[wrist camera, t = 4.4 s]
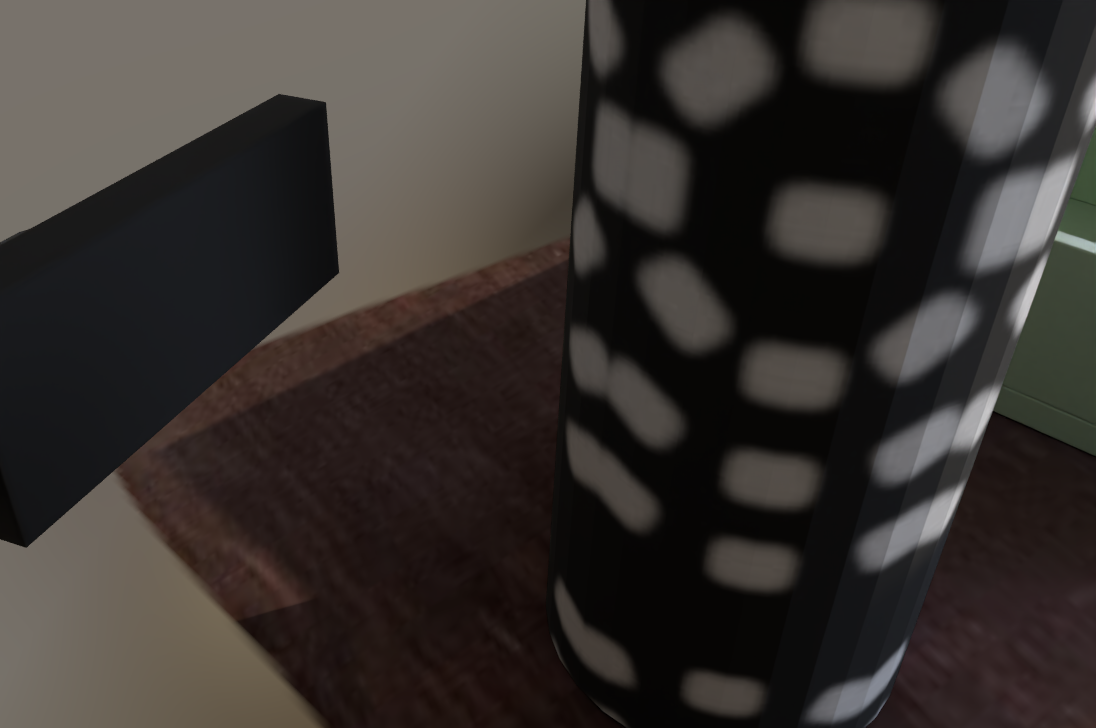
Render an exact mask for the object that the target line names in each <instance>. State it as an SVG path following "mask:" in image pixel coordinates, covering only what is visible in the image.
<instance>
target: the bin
mask: <svg viewBox="0 0 1096 728" xmlns="http://www.w3.org/2000/svg"><path fill="white" fill-rule="evenodd" d="M993 411H995V412H997V413H999V414H1001V415H1004V416H1006V417H1008V418H1010V419H1013V420H1015V421H1017V422H1019V423H1022V424H1024V425H1026V426H1028V427H1031V428H1033V429H1035V430H1037V431H1040V432H1042V433H1044V434H1046V435H1049V436H1051V437H1053V438H1055V439H1058V440H1060V441H1062V442H1064V443H1067V444H1069V445H1071V446H1074V447H1076V448H1078V449H1080V450H1083V451H1085V452H1087V453H1089V454H1092V455H1094V456H1096V127H1095V129H1094V132H1093V135H1092V138H1091V140H1090V143H1089V146H1088V149H1087V152H1086V154H1085V157H1084V160H1083V163H1082V165H1081V168H1080V171H1079V174H1078V176H1077V179H1076V182H1075V185H1074V187H1073V190H1072V193H1071V196H1070V199H1069V201H1068V204H1067V207H1066V210H1065V212H1064V215H1063V218H1062V221H1061V223H1060V226H1059V229H1058V232H1057V235H1056V237H1055V240H1054V243H1053V246H1052V248H1051V251H1050V254H1049V257H1048V259H1047V262H1046V265H1045V268H1044V270H1043V273H1042V276H1041V279H1040V282H1039V284H1038V287H1037V290H1036V293H1035V295H1034V298H1033V301H1032V304H1031V306H1030V309H1029V312H1028V315H1027V318H1026V320H1025V323H1024V326H1023V329H1022V331H1021V334H1020V337H1019V340H1018V342H1017V345H1016V348H1015V351H1014V353H1013V356H1012V359H1011V362H1010V365H1009V367H1008V370H1007V373H1006V376H1005V378H1004V381H1003V384H1002V387H1001V389H1000V392H999V395H998V398H997V401H996V403H995V406H994V409H993Z"/></svg>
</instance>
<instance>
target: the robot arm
mask: <svg viewBox="0 0 1096 728" xmlns="http://www.w3.org/2000/svg"><path fill="white" fill-rule="evenodd" d="M338 273H339V266H338V253H337V241H336V228H335V214H334V203H333V188H332V175H331V163H330V150H329V137H328V123H327V111H326V102H321V101H315V100H310V99H304V98H299V97H293V96H287V95H281V94H278V95H276V96H274V97H273V98H271V99H269V100H267V101H265V102H263V103H261V104H260V105H258V106H256V107H254V108H252V109H251V110H249V111H247V112H245V113H243V114H241V115H239V116H238V117H236V118H234V119H232V120H230V121H228V122H226V123H225V124H223V125H221V126H219V127H217V128H215V129H214V130H212V131H210V132H208V133H206V134H204V135H203V136H201V137H199V138H197V139H195V140H193V141H191V142H190V143H188V144H186V145H184V146H182V147H180V148H179V149H177V150H175V151H173V152H171V153H170V154H167V155H166V156H164V157H162V158H161V159H158V160H156V161H155V162H153V163H151V164H149V165H147V166H145V167H143V168H142V169H140V170H138V171H136V172H134V173H132V174H131V175H129V176H127V177H125V178H123V179H121V180H120V181H118V182H116V183H114V184H112V185H110V186H109V187H107V188H105V189H103V190H101V191H99V192H97V193H96V194H94V195H92V196H90V197H88V198H86V199H85V200H83V201H81V202H79V203H77V204H75V205H73V206H72V207H70V208H68V209H66V210H64V211H62V212H61V213H59V214H57V215H55V216H53V217H51V218H49V219H48V220H46V221H44V222H42V223H40V224H38V225H37V226H35V227H33V228H31V229H28V230H25V231H22V232H19V233H17V234H15V235H13V236H11V237H10V238H8V239H6V240H4V241H2V242H0V539H1V540H4V541H7V542H10V543H14V544H17V545H19V546H23V547H28V546H29V545H30V544H31V543H32V542H33V541H34V540H36V539H37V538H38V537H39V536H40V535H41V534H42V533H44V532H45V531H46V530H47V529H48V528H49V527H50V526H52V525H53V524H54V523H55V522H56V521H57V520H58V519H59V518H61V517H62V516H63V515H64V514H65V513H66V512H67V511H69V510H70V509H71V508H72V507H73V506H74V505H75V504H77V503H78V502H79V501H80V500H81V499H82V498H83V497H85V496H86V495H87V494H88V493H89V492H90V491H91V490H92V489H94V488H95V487H96V486H97V485H98V484H99V483H101V482H102V481H103V480H104V479H105V478H106V477H107V476H108V475H110V474H111V473H112V472H113V471H114V470H115V469H116V468H118V467H119V466H120V465H121V464H122V463H123V462H124V461H126V460H127V459H128V458H129V457H130V456H131V455H132V454H133V453H135V452H136V451H137V450H138V449H139V448H140V447H141V446H143V445H144V444H145V443H146V442H147V441H148V440H149V439H151V438H152V437H153V436H154V435H155V434H156V433H157V432H159V431H160V430H161V429H162V428H163V427H164V426H165V425H166V424H168V423H169V422H170V421H171V420H172V419H173V418H174V417H176V416H177V415H178V414H179V413H180V412H181V411H182V410H184V409H185V408H186V407H187V406H188V405H189V404H190V403H192V402H193V401H194V400H195V399H196V398H197V397H198V396H199V395H201V394H202V393H203V392H204V391H205V390H206V389H207V388H209V387H210V386H211V385H212V384H213V383H214V382H215V381H217V380H218V379H219V378H220V377H221V376H222V375H223V374H224V373H226V372H227V371H228V370H229V369H230V368H231V367H232V366H234V365H235V364H236V363H237V362H238V361H239V360H240V359H242V358H243V357H244V356H245V355H246V354H247V353H248V352H250V351H251V350H252V349H253V348H254V347H255V346H256V345H257V344H259V343H260V342H261V341H262V340H263V339H264V338H265V337H267V336H268V335H269V334H270V333H271V332H272V331H273V330H275V329H276V328H277V327H278V326H279V325H280V324H281V323H282V322H284V321H285V320H286V319H287V318H288V317H289V316H290V315H292V313H294V312H295V311H296V310H297V309H298V308H299V307H301V306H302V305H303V304H304V303H305V302H306V301H308V300H309V299H310V298H311V297H312V296H313V295H314V294H315V293H316V292H318V291H319V290H320V289H321V288H322V287H323V286H324V285H326V284H327V283H328V282H329V281H330V280H331V279H332V278H334V277H335V276H336V275H337V274H338Z"/></svg>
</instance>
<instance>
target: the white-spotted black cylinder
mask: <svg viewBox="0 0 1096 728" xmlns="http://www.w3.org/2000/svg"><path fill="white" fill-rule="evenodd" d="M1095 127H1096V0H586V11H585V26H584V41H583V57H582V71H581V87H580V101H579V117H578V131H577V146H576V163H575V177H574V191H573V207H572V221H571V236H570V252H569V267H568V282H567V297H566V312H565V327H564V342H563V357H562V372H561V387H560V402H559V417H558V432H557V447H556V462H555V477H554V492H553V507H552V522H551V537H550V553H549V568H548V583H547V598H546V610H547V618H548V625H549V633H550V635H551V638H552V640H553V643H554V645H555V648H556V651H557V653H558V656H559V658H560V660H561V662H562V663H563V665H564V666H565V668H566V669H567V671H568V672H569V674H570V675H571V677H572V678H573V680H574V681H575V683H576V684H577V686H578V687H579V688H580V689H581V690H582V691H583V692H584V693H585V694H586V695H587V696H588V697H589V698H590V699H591V700H592V701H593V702H594V703H595V704H596V705H597V706H598V707H599V708H600V709H601V710H602V711H603V712H605V713H606V714H608V715H609V716H611V717H612V718H614V719H615V720H616V721H618V722H619V723H621V724H622V725H624V726H625V727H627V728H865V727H866V726H867V725H868V724H869V723H870V722H872V721H873V720H874V719H875V717H876V716H877V714H878V713H879V711H880V710H881V708H882V707H883V705H884V704H885V702H886V701H887V699H888V698H889V696H890V694H891V691H892V688H893V685H894V683H895V680H896V677H897V674H898V672H899V669H900V666H901V663H902V661H903V658H904V655H905V652H906V650H907V647H908V644H909V641H910V638H911V636H912V633H913V630H914V627H915V625H916V622H917V619H918V616H919V614H920V611H921V608H922V605H923V602H924V600H925V597H926V594H927V591H928V589H929V586H930V583H931V580H932V578H933V575H934V572H935V569H936V567H937V564H938V561H939V558H940V555H941V553H942V550H943V547H944V544H945V542H946V539H947V536H948V533H949V531H950V528H951V525H952V522H953V519H954V517H955V514H956V511H957V508H958V506H959V503H960V500H961V497H962V495H963V492H964V489H965V486H966V484H967V481H968V478H969V475H970V472H971V470H972V467H973V464H974V461H975V459H976V456H977V453H978V450H979V448H980V445H981V442H982V439H983V436H984V434H985V431H986V428H987V425H988V423H989V420H990V417H991V414H992V412H993V409H994V406H995V403H996V401H997V398H998V395H999V392H1000V389H1001V387H1002V384H1003V381H1004V378H1005V376H1006V373H1007V370H1008V367H1009V365H1010V362H1011V359H1012V356H1013V353H1014V351H1015V348H1016V345H1017V342H1018V340H1019V337H1020V334H1021V331H1022V329H1023V326H1024V323H1025V320H1026V318H1027V315H1028V312H1029V309H1030V306H1031V304H1032V301H1033V298H1034V295H1035V293H1036V290H1037V287H1038V284H1039V282H1040V279H1041V276H1042V273H1043V270H1044V268H1045V265H1046V262H1047V259H1048V257H1049V254H1050V251H1051V248H1052V246H1053V243H1054V240H1055V237H1056V235H1057V232H1058V229H1059V226H1060V223H1061V221H1062V218H1063V215H1064V212H1065V210H1066V207H1067V204H1068V201H1069V199H1070V196H1071V193H1072V190H1073V187H1074V185H1075V182H1076V179H1077V176H1078V174H1079V171H1080V168H1081V165H1082V163H1083V160H1084V157H1085V154H1086V152H1087V149H1088V146H1089V143H1090V140H1091V138H1092V135H1093V132H1094V129H1095Z"/></svg>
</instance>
